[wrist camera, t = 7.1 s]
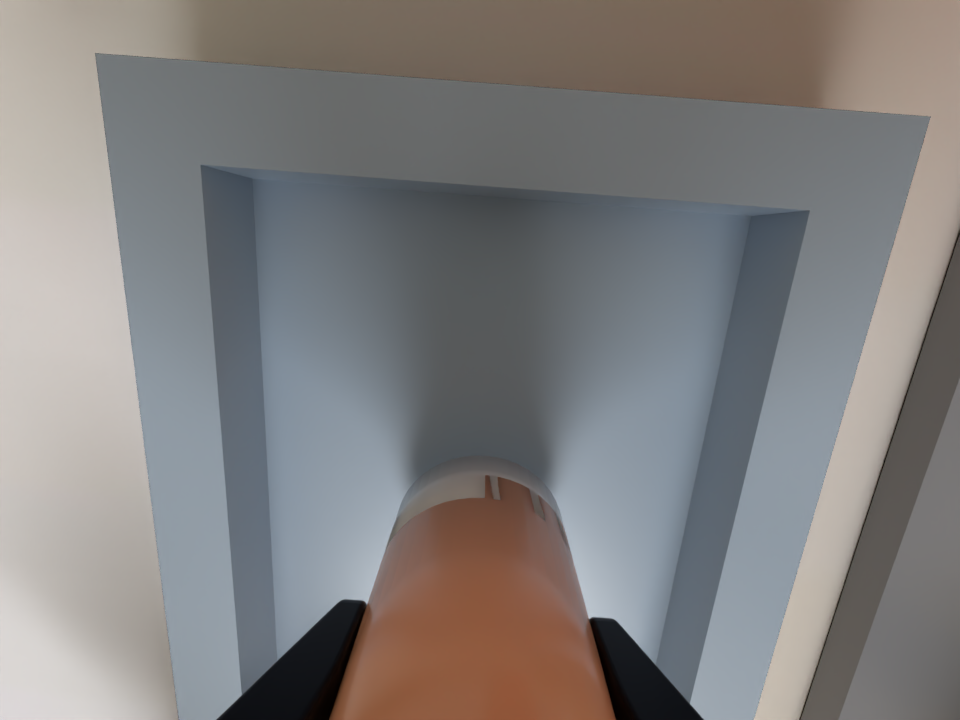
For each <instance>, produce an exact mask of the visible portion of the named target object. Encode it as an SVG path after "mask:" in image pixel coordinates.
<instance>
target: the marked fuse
mask: <svg viewBox="0 0 960 720" xmlns="http://www.w3.org/2000/svg"><path fill="white" fill-rule="evenodd" d="M329 720H616V717H615V714H614V710H613V706H612V702H611V699H610V695H609V691H608V688H607V684H606V680H605V676H604V673H603V669H602V665H601V662H600V658H599V654H598V650H597V647H596V643H595V639H594V636H593V632H592V628H591V624H590V621H589V617H588V613H587V610H586V606H585V602H584V599H583V595H582V591H581V587H580V584H579V580H578V576H577V573H576V569H575V565H574V561H573V558H572V554H571V550H570V547H569V543H568V539H567V535H566V532H565V528H564V524H563V521H562V517H561V513H560V509H559V507H558V504H557V502H556V500H555V498H554V496H553V495H552V493H551V491H550V490H549V489H548V487H547V486H546V485H545V484H544V483H543V482H542V481H541V480H540V479H539V478H538V477H537V476H536V475H535V474H533V473H532V472H530V471H529V470H528V469H526V468H524V467H522V466H520V465H519V464H516V463H514V462H511V461H509V460H505V459H502V458H498V457H491V456H465V457H460V458H455V459H451V460H448V461H446V462H443V463H441V464H439V465H437V466H435V467H433V468H431V469H430V470H428V471H427V472H425V473H424V474H423V475H421V476H420V477H419V478H418V479H417V480H416V481H415V482H414V483H413V484H412V486H411V487H410V488H409V489H408V491H407V493H406V494H405V496H404V498H403V500H402V502H401V505H400V507H399V510H398V513H397V516H396V519H395V522H394V525H393V528H392V531H391V534H390V537H389V540H388V543H387V546H386V549H385V552H384V555H383V558H382V561H381V564H380V567H379V570H378V573H377V576H376V579H375V582H374V585H373V588H372V591H371V594H370V597H369V600H368V603H367V606H366V609H365V612H364V615H363V618H362V621H361V624H360V627H359V630H358V633H357V636H356V639H355V642H354V645H353V648H352V651H351V654H350V657H349V660H348V663H347V666H346V669H345V672H344V675H343V678H342V681H341V684H340V687H339V690H338V693H337V696H336V699H335V702H334V705H333V708H332V712H331V715H330V718H329Z"/></svg>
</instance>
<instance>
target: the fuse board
mask: <svg viewBox="0 0 960 720" xmlns="http://www.w3.org/2000/svg"><path fill="white" fill-rule="evenodd" d="M801 720H960V235H959V238H958V241H957V244H956V247H955V250H954V253H953V256H952V259H951V262H950V265H949V268H948V271H947V274H946V277H945V280H944V283H943V286H942V290H941V293H940V296H939V299H938V302H937V305H936V308H935V311H934V314H933V317H932V320H931V323H930V326H929V329H928V332H927V335H926V338H925V341H924V344H923V348H922V351H921V354H920V357H919V360H918V363H917V366H916V369H915V372H914V375H913V378H912V381H911V384H910V387H909V390H908V393H907V396H906V399H905V402H904V406H903V409H902V412H901V415H900V418H899V421H898V424H897V427H896V430H895V433H894V436H893V439H892V442H891V445H890V448H889V451H888V454H887V457H886V460H885V464H884V467H883V470H882V473H881V476H880V479H879V482H878V485H877V488H876V491H875V494H874V497H873V500H872V503H871V506H870V509H869V512H868V515H867V518H866V522H865V525H864V528H863V531H862V534H861V537H860V540H859V543H858V546H857V549H856V552H855V555H854V558H853V561H852V564H851V567H850V570H849V573H848V576H847V580H846V583H845V586H844V589H843V592H842V595H841V598H840V601H839V604H838V607H837V610H836V613H835V616H834V619H833V622H832V625H831V628H830V631H829V635H828V638H827V641H826V644H825V647H824V650H823V653H822V656H821V659H820V662H819V665H818V668H817V671H816V674H815V677H814V680H813V683H812V686H811V689H810V693H809V696H808V699H807V702H806V705H805V708H804V711H803V714H802V717H801Z"/></svg>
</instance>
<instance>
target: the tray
mask: <svg viewBox="0 0 960 720" xmlns="http://www.w3.org/2000/svg"><path fill="white" fill-rule="evenodd" d="M95 56H96V64H97V72H98V80H99V88H100V96H101V104H102V112H103V120H104V128H105V136H106V144H107V152H108V159H109V167H110V175H111V183H112V191H113V199H114V207H115V215H116V223H117V231H118V239H119V247H120V255H121V263H122V271H123V279H124V287H125V295H126V303H127V311H128V319H129V327H130V335H131V343H132V351H133V359H134V367H135V375H136V383H137V391H138V399H139V407H140V415H141V423H142V431H143V439H144V447H145V455H146V463H147V471H148V479H149V487H150V495H151V503H152V511H153V518H154V526H155V534H156V542H157V550H158V558H159V566H160V574H161V582H162V590H163V598H164V606H165V614H166V622H167V630H168V638H169V646H170V654H171V662H172V670H173V678H174V686H175V694H176V702H177V710H178V718H179V720H216V719H217V718H218V717H219V716H220V715H221V714H223V713H224V712H225V711H226V710H227V709H228V708H229V707H230V706H231V705H232V704H233V703H234V702H235V701H236V700H237V699H238V698H239V697H240V696H241V695H242V694H243V693H244V692H245V691H246V690H247V689H248V688H250V687H251V686H252V685H253V684H254V683H255V682H256V681H257V680H258V679H259V678H260V677H261V676H262V675H263V674H264V673H265V672H266V671H267V670H268V669H269V668H270V667H271V666H272V665H273V664H274V663H275V662H277V661H278V660H279V659H280V658H281V657H282V656H283V655H284V654H285V653H286V652H287V651H288V650H289V649H290V648H291V647H292V646H293V645H294V644H295V643H296V642H297V641H298V640H299V639H300V638H301V637H302V636H304V635H305V634H306V633H307V632H308V631H309V630H310V629H311V628H312V627H313V626H314V625H315V624H316V623H317V622H318V621H319V620H320V619H321V618H322V617H323V616H324V615H325V614H326V613H327V612H328V611H329V610H331V609H332V608H333V607H334V606H335V605H336V604H337V603H338V602H339V601H341V600H343V599H351V600H363V601H365V602H366V604H367V603H368V600H369V597H370V594H371V591H372V588H373V585H374V582H375V579H376V576H377V573H378V570H379V567H380V564H381V561H382V558H383V555H384V552H385V549H386V546H387V543H388V540H389V537H390V534H391V531H392V528H393V525H394V522H395V519H396V516H397V513H398V510H399V507H400V505H401V502H402V500H403V498H404V496H405V494H406V493H407V491H408V489H409V488H410V487H411V486H412V484H413V483H414V482H415V481H416V480H417V479H418V478H419V477H420V476H421V475H423V474H424V473H425V472H427V471H428V470H430V469H431V468H433V467H435V466H437V465H439V464H441V463H443V462H446V461H448V460H451V459H455V458H460V457H465V456H491V457H498V458H502V459H505V460H509V461H511V462H514V463H516V464H519V465H520V466H522V467H524V468H526V469H528V470H529V471H530V472H532V473H533V474H535V475H536V476H537V477H538V478H539V479H540V480H541V481H542V482H543V483H544V484H545V485H546V486H547V487H548V489H549V490H550V491H551V493H552V495H553V496H554V498H555V500H556V502H557V504H558V507H559V509H560V513H561V517H562V521H563V524H564V528H565V532H566V535H567V539H568V543H569V547H570V550H571V554H572V558H573V561H574V565H575V569H576V573H577V576H578V580H579V584H580V587H581V591H582V595H583V599H584V602H585V606H586V610H587V613H588V617H589V619H590V618H592V617H602V618H612V619H614V620H616V621H617V622H618V623H619V624H620V625H621V626H622V627H623V628H624V630H625V631H626V632H627V633H628V634H629V635H630V636H631V638H632V639H633V640H634V641H635V642H636V643H637V644H638V645H639V647H640V648H641V649H642V650H643V651H644V652H645V653H646V654H647V656H648V657H649V658H650V659H651V660H652V661H653V662H654V664H655V665H656V666H657V667H658V668H659V669H660V670H661V671H662V673H663V674H664V675H665V676H666V677H667V678H668V679H669V681H670V682H671V683H672V684H673V685H674V686H675V687H676V688H677V690H678V691H679V692H680V693H681V694H682V695H683V696H684V698H685V699H686V700H687V701H688V702H689V703H690V704H691V705H692V707H693V708H694V709H695V710H696V711H697V712H698V713H699V714H700V716H701V717H702V718H703V719H704V720H754V717H755V714H756V710H757V707H758V703H759V700H760V696H761V693H762V690H763V686H764V683H765V679H766V676H767V673H768V669H769V666H770V662H771V659H772V656H773V652H774V649H775V645H776V642H777V639H778V635H779V632H780V628H781V625H782V621H783V618H784V615H785V611H786V608H787V604H788V601H789V598H790V594H791V591H792V587H793V584H794V581H795V577H796V574H797V570H798V567H799V564H800V560H801V557H802V553H803V550H804V547H805V543H806V540H807V536H808V533H809V529H810V526H811V523H812V519H813V516H814V512H815V509H816V506H817V502H818V499H819V495H820V492H821V489H822V485H823V482H824V478H825V475H826V472H827V468H828V465H829V461H830V458H831V454H832V451H833V448H834V444H835V441H836V437H837V434H838V431H839V427H840V424H841V420H842V417H843V414H844V410H845V407H846V403H847V400H848V397H849V393H850V390H851V386H852V383H853V380H854V376H855V373H856V369H857V366H858V362H859V359H860V356H861V352H862V349H863V345H864V342H865V339H866V335H867V332H868V328H869V325H870V322H871V318H872V315H873V311H874V308H875V305H876V301H877V298H878V294H879V291H880V287H881V284H882V281H883V277H884V274H885V270H886V267H887V264H888V260H889V257H890V253H891V250H892V247H893V243H894V240H895V236H896V233H897V230H898V226H899V223H900V219H901V216H902V212H903V209H904V206H905V202H906V199H907V195H908V192H909V189H910V185H911V182H912V178H913V175H914V172H915V168H916V165H917V161H918V158H919V155H920V151H921V148H922V144H923V141H924V138H925V134H926V131H927V127H928V124H929V120H930V117H928V116H915V115H902V114H889V113H876V112H863V111H849V110H836V109H823V108H810V107H797V106H784V105H770V104H757V103H744V102H731V101H718V100H705V99H692V98H678V97H665V96H652V95H639V94H626V93H613V92H599V91H586V90H573V89H560V88H547V87H534V86H520V85H507V84H494V83H481V82H468V81H455V80H442V79H428V78H415V77H402V76H389V75H376V74H363V73H349V72H336V71H323V70H310V69H297V68H284V67H270V66H257V65H244V64H231V63H218V62H205V61H192V60H178V59H165V58H152V57H139V56H126V55H113V54H99V53H95Z"/></svg>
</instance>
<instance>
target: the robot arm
mask: <svg viewBox="0 0 960 720" xmlns="http://www.w3.org/2000/svg"><path fill="white" fill-rule="evenodd" d="M366 606H367V604H366V602H365V601H363V600H351V599H343V600H341V601H339V602H338V603H337V604H336V605H335V606H334V607H333V608H332V609H331V610H329V611H328V612H327V613H326V614H325V615H324V616H323V617H322V618H321V619H320V620H319V621H318V622H317V623H316V624H315V625H314V626H313V627H312V628H311V629H310V630H309V631H308V632H307V633H306V634H305V635H304V636H302V637H301V638H300V639H299V640H298V641H297V642H296V643H295V644H294V645H293V646H292V647H291V648H290V649H289V650H288V651H287V652H286V653H285V654H284V655H283V656H282V657H281V658H280V659H279V660H278V661H277V662H275V663H274V664H273V665H272V666H271V667H270V668H269V669H268V670H267V671H266V672H265V673H264V674H263V675H262V676H261V677H260V678H259V679H258V680H257V681H256V682H255V683H254V684H253V685H252V686H251V687H250V688H248V689H247V690H246V691H245V692H244V693H243V694H242V695H241V696H240V697H239V698H238V699H237V700H236V701H235V702H234V703H233V704H232V705H231V706H230V707H229V708H228V709H227V710H226V711H225V712H224V713H223V714H221V715H220V716H219V717H218V718H217V719H216V720H329V718H330V715H331V712H332V708H333V705H334V702H335V699H336V696H337V693H338V690H339V687H340V684H341V681H342V678H343V675H344V672H345V669H346V666H347V663H348V660H349V657H350V654H351V651H352V648H353V645H354V642H355V639H356V636H357V633H358V630H359V627H360V624H361V621H362V618H363V615H364V612H365V609H366ZM589 621H590V624H591V628H592V632H593V636H594V639H595V643H596V647H597V650H598V654H599V658H600V662H601V665H602V669H603V673H604V676H605V680H606V684H607V688H608V691H609V695H610V699H611V702H612V706H613V710H614V714H615V717H616V720H704V719H703V718H702V717H701V716H700V714H699V713H698V712H697V711H696V710H695V709H694V708H693V707H692V705H691V704H690V703H689V702H688V701H687V700H686V699H685V698H684V696H683V695H682V694H681V693H680V692H679V691H678V690H677V688H676V687H675V686H674V685H673V684H672V683H671V682H670V681H669V679H668V678H667V677H666V676H665V675H664V674H663V673H662V671H661V670H660V669H659V668H658V667H657V666H656V665H655V664H654V662H653V661H652V660H651V659H650V658H649V657H648V656H647V654H646V653H645V652H644V651H643V650H642V649H641V648H640V647H639V645H638V644H637V643H636V642H635V641H634V640H633V639H632V638H631V636H630V635H629V634H628V633H627V632H626V631H625V630H624V628H623V627H622V626H621V625H620V624H619V623H618V622H617V621H616V620H614V619H612V618H602V617H592V618H590V619H589Z"/></svg>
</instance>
